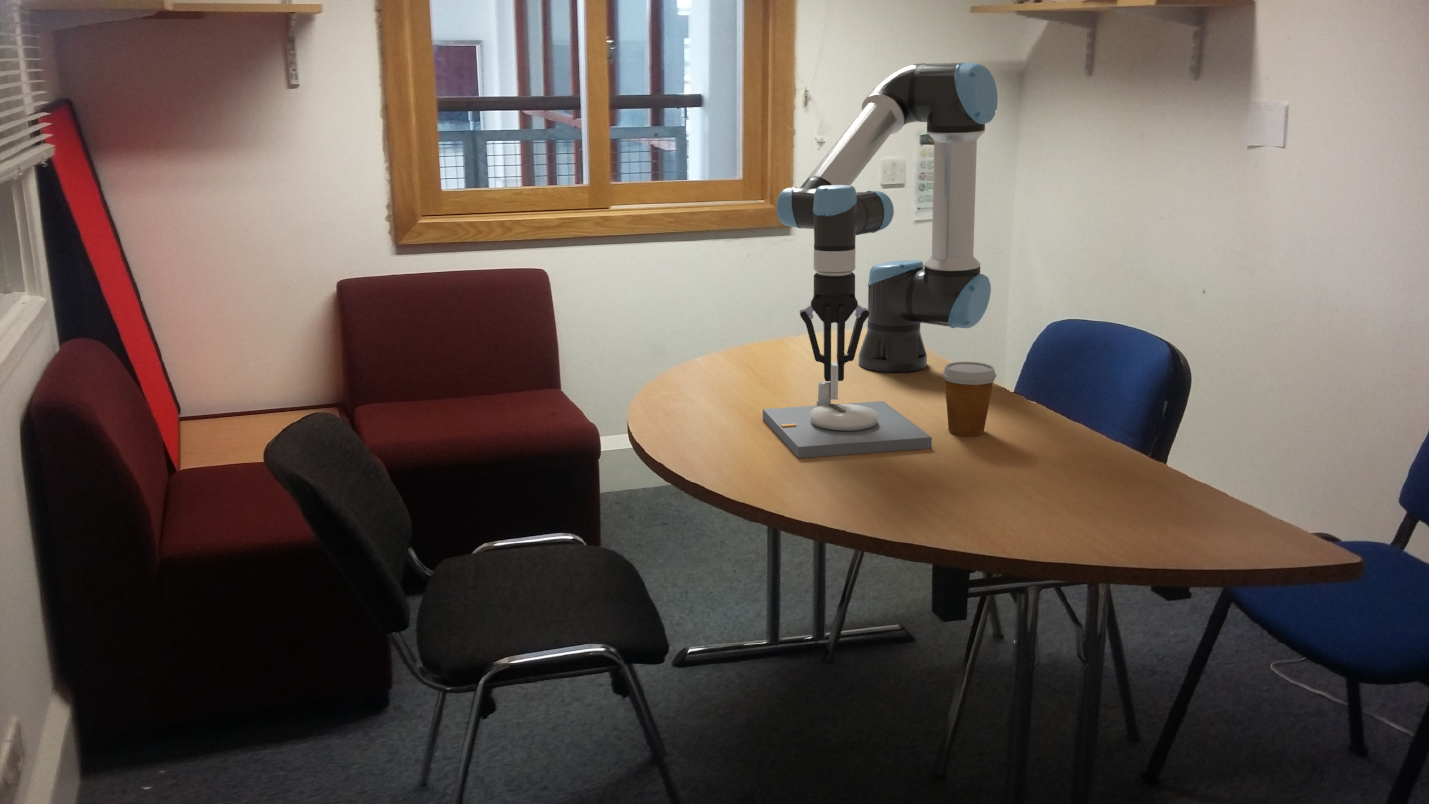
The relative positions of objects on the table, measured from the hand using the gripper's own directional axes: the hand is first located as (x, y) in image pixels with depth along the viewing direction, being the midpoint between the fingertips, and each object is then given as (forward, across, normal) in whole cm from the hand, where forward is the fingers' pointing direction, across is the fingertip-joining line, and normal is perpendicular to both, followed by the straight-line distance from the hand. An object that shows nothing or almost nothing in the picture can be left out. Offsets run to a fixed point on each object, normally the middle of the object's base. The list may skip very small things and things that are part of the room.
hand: (833, 397), depth 217 cm
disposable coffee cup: (+5, -24, +7) cm, 25 cm away
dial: (+2, -1, +6) cm, 7 cm away
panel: (+5, -1, +8) cm, 9 cm away
